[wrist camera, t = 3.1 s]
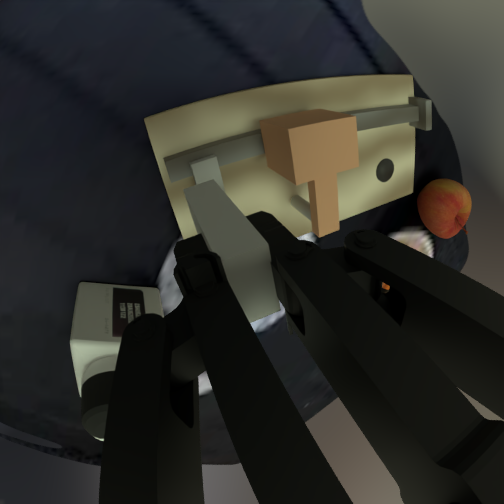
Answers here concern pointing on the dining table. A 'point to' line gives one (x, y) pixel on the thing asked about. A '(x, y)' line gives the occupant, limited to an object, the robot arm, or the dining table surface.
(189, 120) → the board
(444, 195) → the apple
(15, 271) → the dining table surface
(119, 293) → the container
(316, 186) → the block
